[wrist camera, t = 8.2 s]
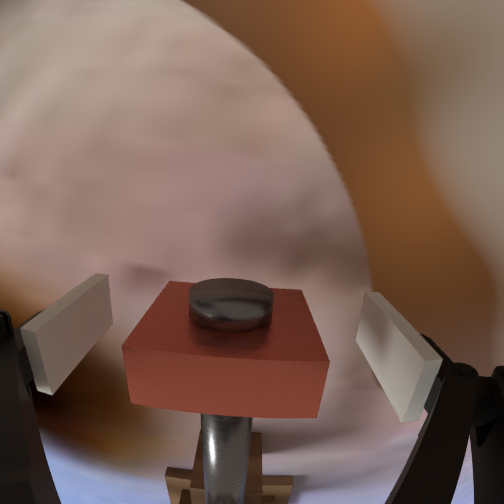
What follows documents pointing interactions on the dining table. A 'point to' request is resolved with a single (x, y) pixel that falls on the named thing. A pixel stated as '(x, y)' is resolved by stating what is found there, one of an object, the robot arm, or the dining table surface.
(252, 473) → the saddle block
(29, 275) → the dining table surface
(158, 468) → the dining table surface
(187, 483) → the wooden square frame
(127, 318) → the dining table surface
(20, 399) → the robot arm
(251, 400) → the hook rod
